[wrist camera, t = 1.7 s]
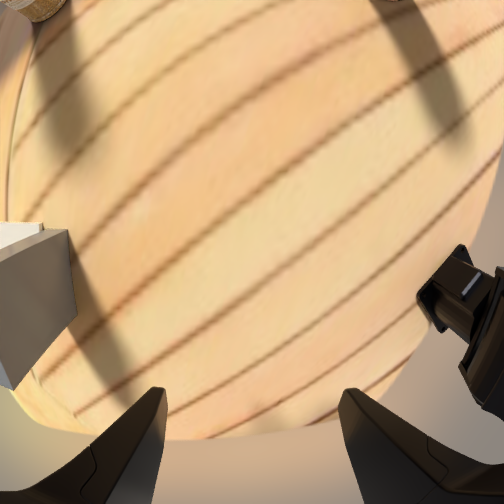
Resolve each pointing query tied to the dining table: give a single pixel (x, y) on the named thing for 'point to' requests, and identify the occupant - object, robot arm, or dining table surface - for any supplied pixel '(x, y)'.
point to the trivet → (17, 231)
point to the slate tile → (33, 300)
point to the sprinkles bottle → (35, 8)
